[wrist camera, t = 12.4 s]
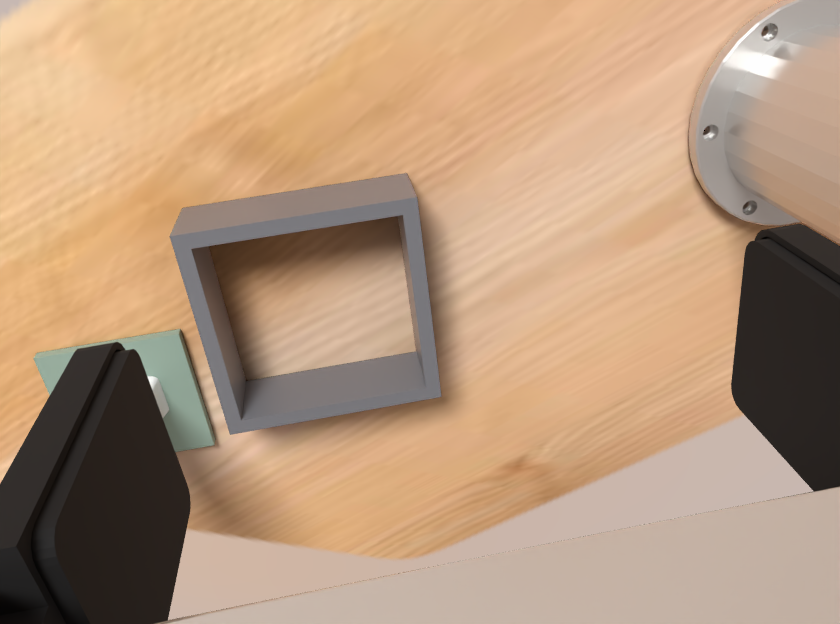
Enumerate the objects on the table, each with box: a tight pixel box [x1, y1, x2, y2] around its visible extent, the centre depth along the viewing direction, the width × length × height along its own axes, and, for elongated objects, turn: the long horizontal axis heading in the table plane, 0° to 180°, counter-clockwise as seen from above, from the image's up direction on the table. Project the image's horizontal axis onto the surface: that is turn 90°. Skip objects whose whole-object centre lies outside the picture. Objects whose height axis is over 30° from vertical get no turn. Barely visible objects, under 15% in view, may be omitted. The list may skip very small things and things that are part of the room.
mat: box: [34, 329, 215, 452], centre depth 42 cm, size 8×8×1 cm
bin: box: [170, 173, 441, 435], centre depth 39 cm, size 12×12×4 cm
